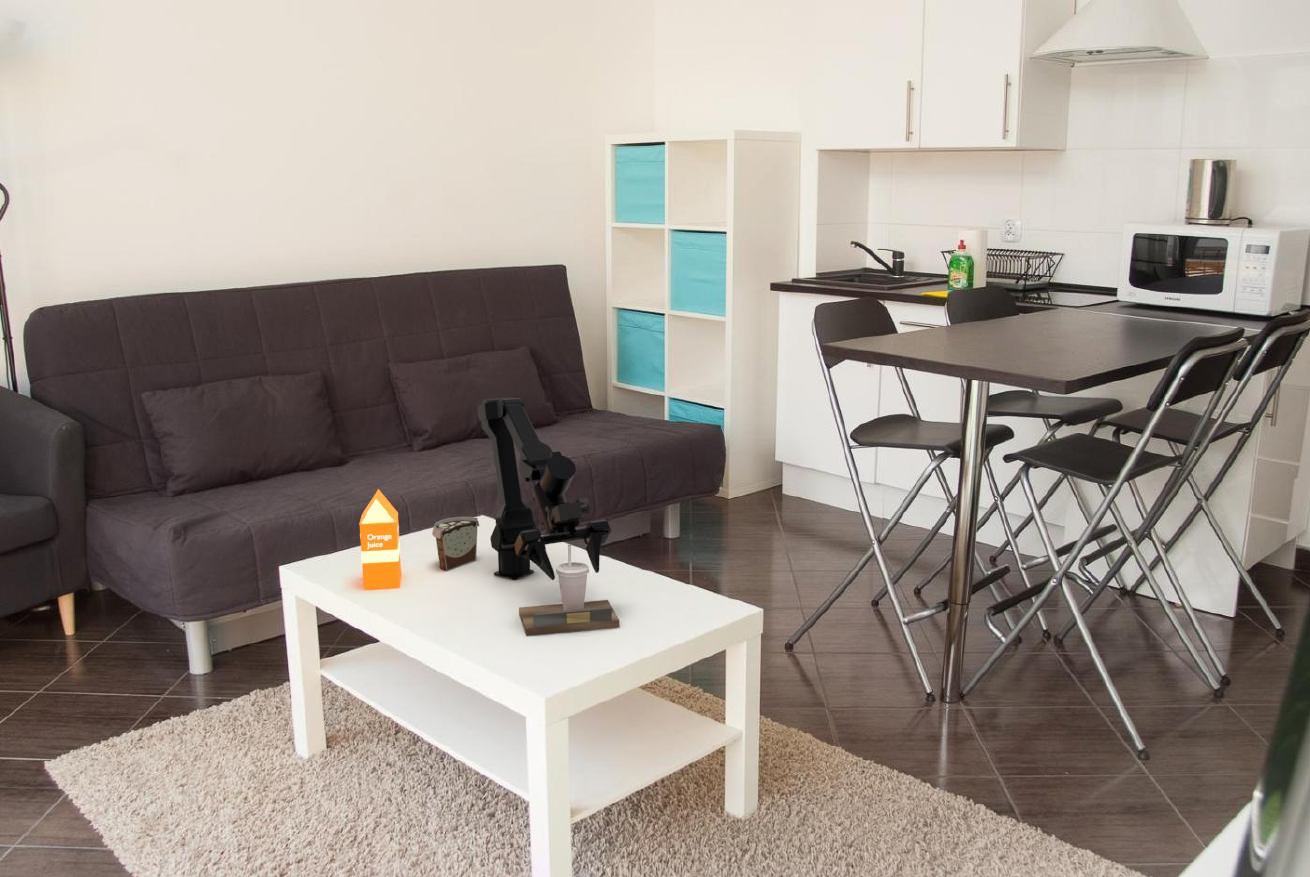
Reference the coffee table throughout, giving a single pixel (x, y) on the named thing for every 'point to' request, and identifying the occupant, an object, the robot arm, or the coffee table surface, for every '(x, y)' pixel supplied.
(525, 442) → the robot arm
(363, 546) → the orange juice
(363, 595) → the coffee table surface
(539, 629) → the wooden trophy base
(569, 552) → the smoothie
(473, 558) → the brown cake slice
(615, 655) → the coffee table surface
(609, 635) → the coffee table surface
